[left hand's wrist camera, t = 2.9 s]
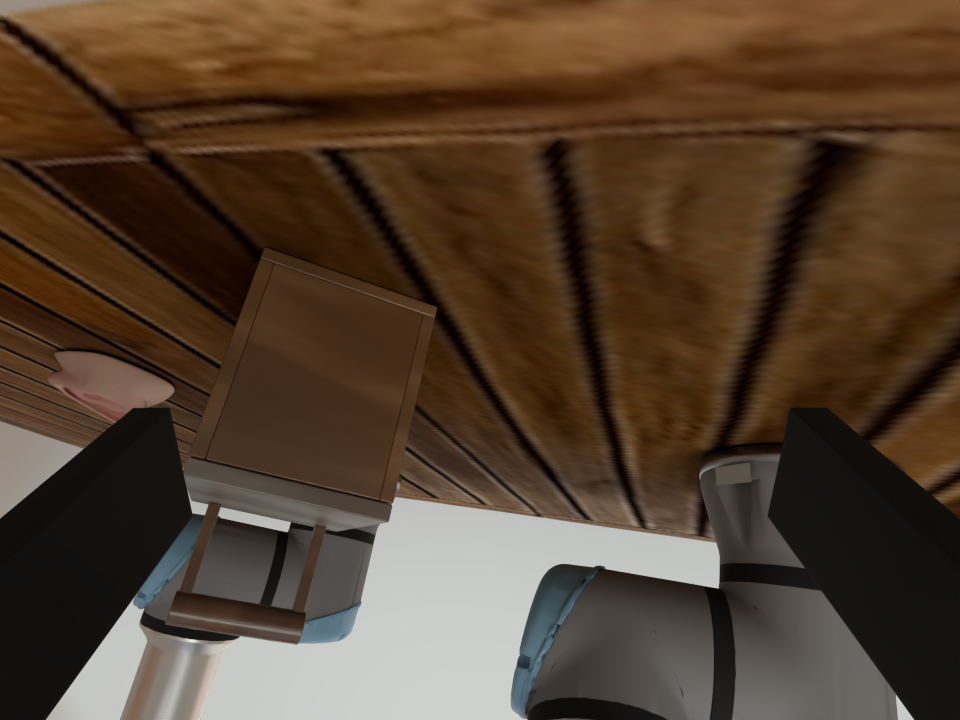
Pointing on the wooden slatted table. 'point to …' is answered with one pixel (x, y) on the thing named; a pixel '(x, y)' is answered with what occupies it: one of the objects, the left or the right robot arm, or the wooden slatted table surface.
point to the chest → (318, 380)
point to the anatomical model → (107, 383)
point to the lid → (270, 501)
